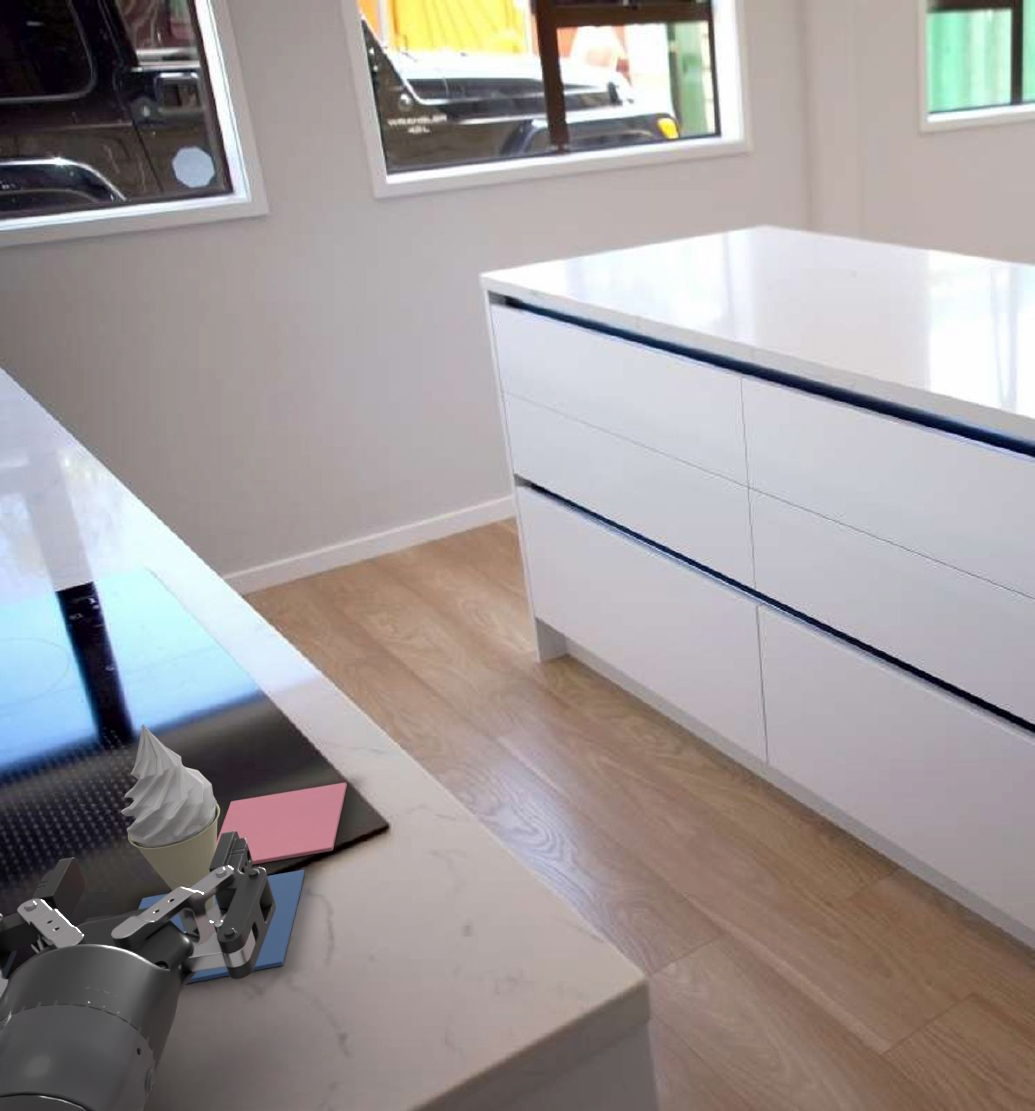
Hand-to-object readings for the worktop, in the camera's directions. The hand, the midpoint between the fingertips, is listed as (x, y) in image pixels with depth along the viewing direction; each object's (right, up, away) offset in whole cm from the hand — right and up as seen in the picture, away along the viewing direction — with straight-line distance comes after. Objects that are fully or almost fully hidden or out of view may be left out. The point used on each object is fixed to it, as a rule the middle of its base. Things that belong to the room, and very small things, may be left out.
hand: (154, 857), depth 72 cm
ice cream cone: (0, -6, +7) cm, 10 cm away
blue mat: (0, -6, +7) cm, 10 cm away
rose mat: (0, -2, +17) cm, 17 cm away
